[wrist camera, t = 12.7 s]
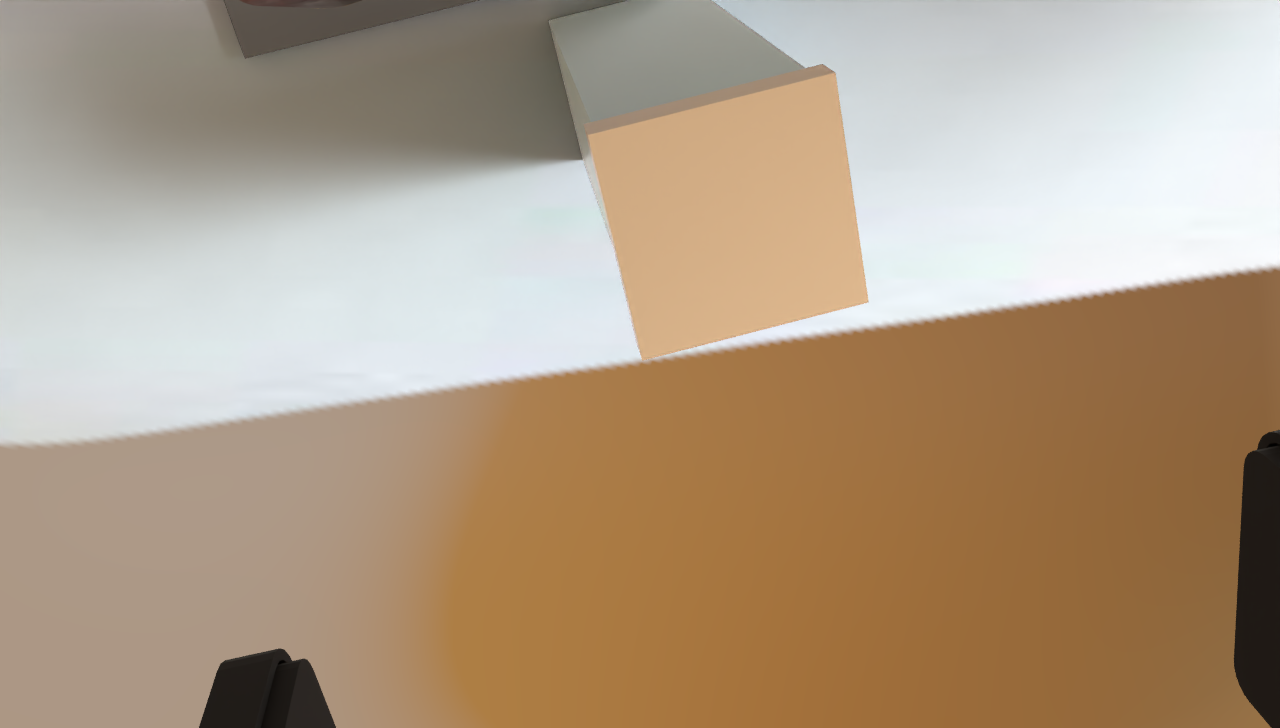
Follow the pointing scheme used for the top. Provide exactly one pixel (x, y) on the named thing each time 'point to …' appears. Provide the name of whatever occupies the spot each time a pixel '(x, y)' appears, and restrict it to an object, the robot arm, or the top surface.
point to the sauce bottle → (301, 3)
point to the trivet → (318, 21)
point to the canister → (711, 171)
